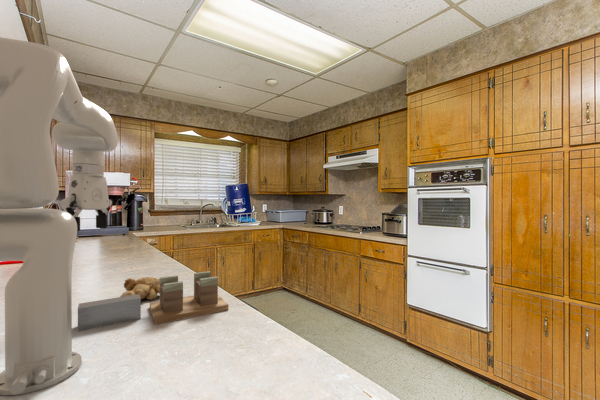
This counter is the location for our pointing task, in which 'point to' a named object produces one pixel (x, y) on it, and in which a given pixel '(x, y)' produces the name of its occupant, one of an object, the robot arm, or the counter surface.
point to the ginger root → (142, 287)
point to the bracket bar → (108, 312)
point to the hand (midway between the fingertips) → (88, 229)
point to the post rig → (187, 299)
